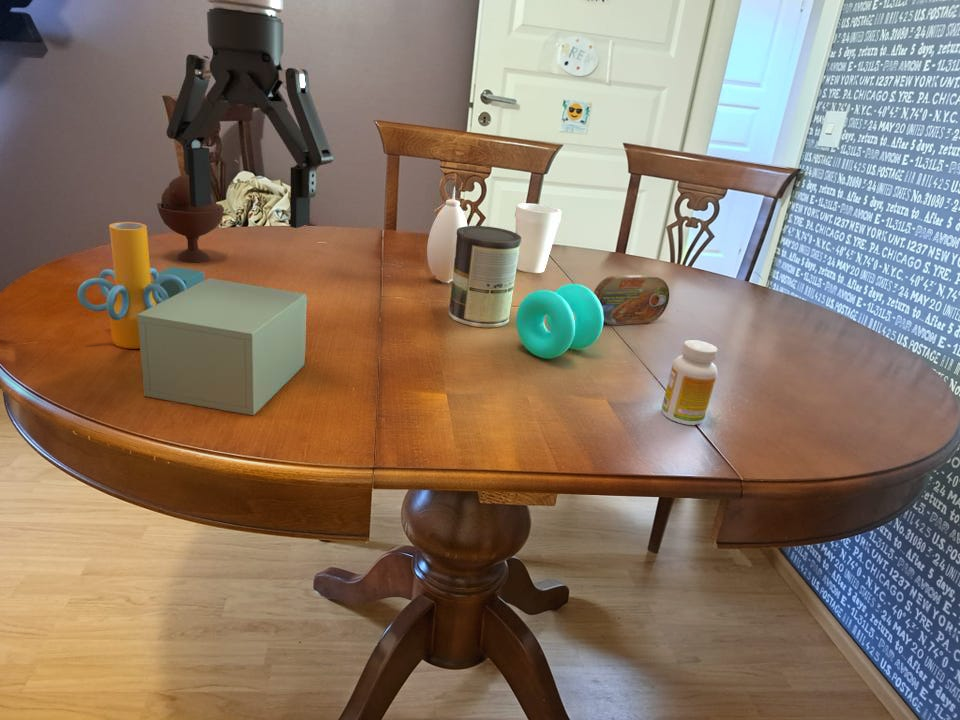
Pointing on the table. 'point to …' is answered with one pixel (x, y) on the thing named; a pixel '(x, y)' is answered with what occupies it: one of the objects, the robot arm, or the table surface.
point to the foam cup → (535, 235)
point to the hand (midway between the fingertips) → (249, 215)
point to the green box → (222, 345)
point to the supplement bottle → (690, 383)
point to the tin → (632, 299)
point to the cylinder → (128, 283)
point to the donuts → (559, 320)
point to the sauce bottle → (445, 240)
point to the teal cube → (185, 275)
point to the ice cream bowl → (188, 217)
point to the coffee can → (483, 276)
